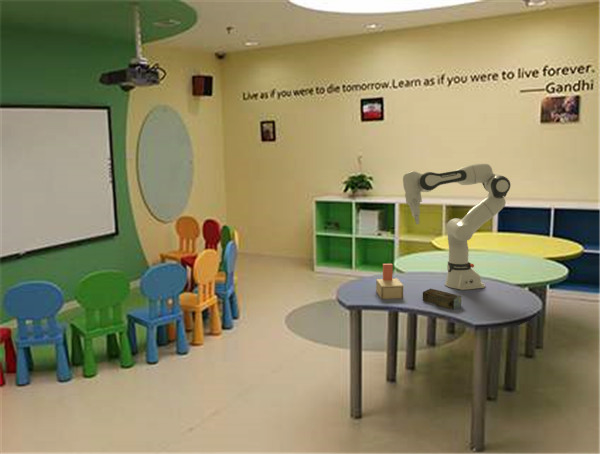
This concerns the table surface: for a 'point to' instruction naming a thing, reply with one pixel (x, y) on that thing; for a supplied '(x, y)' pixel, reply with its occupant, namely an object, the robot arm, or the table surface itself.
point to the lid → (388, 277)
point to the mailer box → (389, 292)
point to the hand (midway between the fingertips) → (417, 223)
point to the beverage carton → (442, 298)
